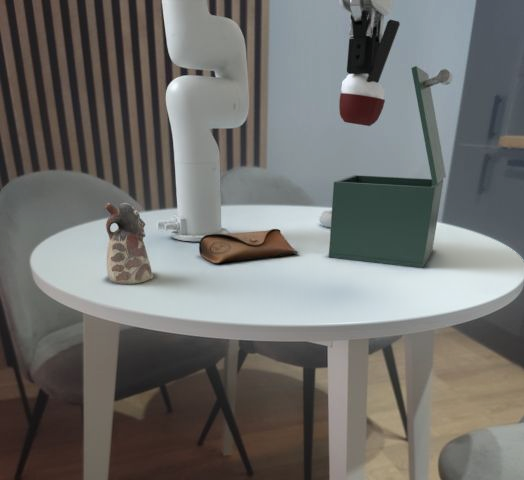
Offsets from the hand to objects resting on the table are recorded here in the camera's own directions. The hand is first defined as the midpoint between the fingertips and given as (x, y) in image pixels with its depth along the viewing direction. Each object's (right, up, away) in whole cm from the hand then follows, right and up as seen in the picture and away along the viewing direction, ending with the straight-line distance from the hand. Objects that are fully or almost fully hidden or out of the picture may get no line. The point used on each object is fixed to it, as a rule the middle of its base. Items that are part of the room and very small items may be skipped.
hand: (362, 73), depth 68 cm
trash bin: (+10, -19, +31) cm, 37 cm away
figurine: (-35, -26, +14) cm, 46 cm away
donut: (+5, -7, +57) cm, 57 cm away
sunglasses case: (-16, -20, +28) cm, 38 cm away
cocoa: (0, -6, +3) cm, 7 cm away
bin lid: (+15, +1, +19) cm, 24 cm away
